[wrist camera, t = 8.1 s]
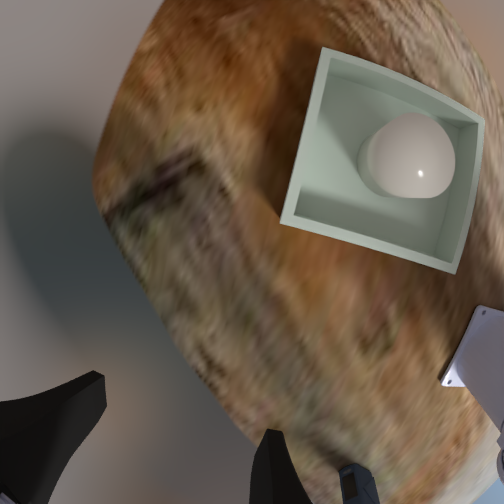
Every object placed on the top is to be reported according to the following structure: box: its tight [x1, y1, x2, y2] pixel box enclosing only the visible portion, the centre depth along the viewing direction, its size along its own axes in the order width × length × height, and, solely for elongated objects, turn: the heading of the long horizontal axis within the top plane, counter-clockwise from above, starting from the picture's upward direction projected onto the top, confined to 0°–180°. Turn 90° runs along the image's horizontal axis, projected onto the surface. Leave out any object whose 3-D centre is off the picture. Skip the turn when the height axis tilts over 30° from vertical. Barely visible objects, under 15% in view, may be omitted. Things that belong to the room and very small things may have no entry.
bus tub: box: [280, 47, 485, 275], centre depth 16 cm, size 12×11×3 cm
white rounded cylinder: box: [357, 113, 455, 198], centre depth 14 cm, size 4×4×5 cm
